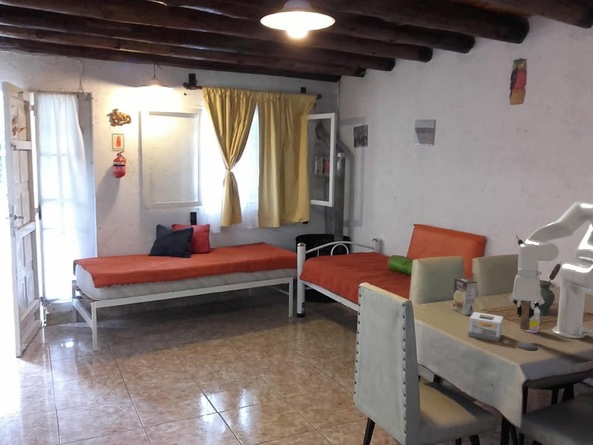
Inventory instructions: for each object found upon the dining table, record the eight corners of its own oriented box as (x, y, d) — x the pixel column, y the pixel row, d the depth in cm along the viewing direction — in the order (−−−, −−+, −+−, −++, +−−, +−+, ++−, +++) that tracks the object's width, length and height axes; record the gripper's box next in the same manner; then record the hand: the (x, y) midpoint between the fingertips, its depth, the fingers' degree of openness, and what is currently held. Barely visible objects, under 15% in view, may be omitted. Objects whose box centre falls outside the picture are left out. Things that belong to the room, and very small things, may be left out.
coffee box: (451, 309, 257) (453, 278, 255) (462, 308, 259) (464, 277, 257) (463, 315, 249) (466, 282, 247) (474, 314, 251) (477, 281, 249)
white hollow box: (501, 334, 222) (503, 316, 221) (498, 341, 214) (499, 322, 213) (472, 329, 228) (473, 311, 227) (468, 336, 219) (469, 317, 218)
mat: (537, 346, 210) (537, 345, 210) (536, 351, 204) (536, 350, 204) (519, 342, 213) (519, 341, 213) (517, 348, 207) (517, 347, 207)
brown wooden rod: (529, 327, 216) (531, 295, 214) (529, 330, 213) (530, 297, 211) (520, 326, 218) (522, 294, 216) (519, 329, 215) (521, 296, 213)
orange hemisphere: (491, 324, 221) (491, 320, 221) (490, 327, 218) (490, 322, 217) (481, 323, 223) (482, 318, 223) (480, 325, 219) (480, 321, 219)
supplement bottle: (524, 327, 234) (526, 299, 232) (540, 330, 229) (542, 302, 228) (519, 330, 228) (522, 302, 227) (535, 334, 224) (538, 305, 223)
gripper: (550, 273, 212) (548, 316, 214) (507, 269, 220) (505, 311, 222) (549, 277, 205) (546, 322, 208) (504, 273, 213) (502, 316, 216)
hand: (525, 316), depth 215 cm, fingers closed on brown wooden rod, 3 cm apart
